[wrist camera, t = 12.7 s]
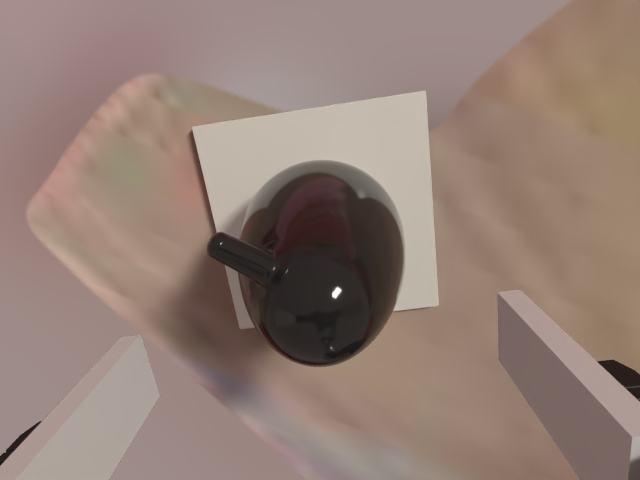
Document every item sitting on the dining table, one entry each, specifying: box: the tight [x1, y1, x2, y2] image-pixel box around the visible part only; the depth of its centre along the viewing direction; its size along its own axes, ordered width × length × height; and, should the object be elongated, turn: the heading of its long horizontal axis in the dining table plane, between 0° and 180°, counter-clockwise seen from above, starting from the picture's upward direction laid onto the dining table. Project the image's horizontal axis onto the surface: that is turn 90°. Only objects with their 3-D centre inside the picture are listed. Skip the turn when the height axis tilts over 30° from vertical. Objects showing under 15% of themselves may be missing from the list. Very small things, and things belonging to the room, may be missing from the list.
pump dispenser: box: [207, 160, 405, 367], centre depth 22 cm, size 10×10×15 cm
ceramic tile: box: [192, 91, 439, 329], centre depth 30 cm, size 16×16×1 cm
